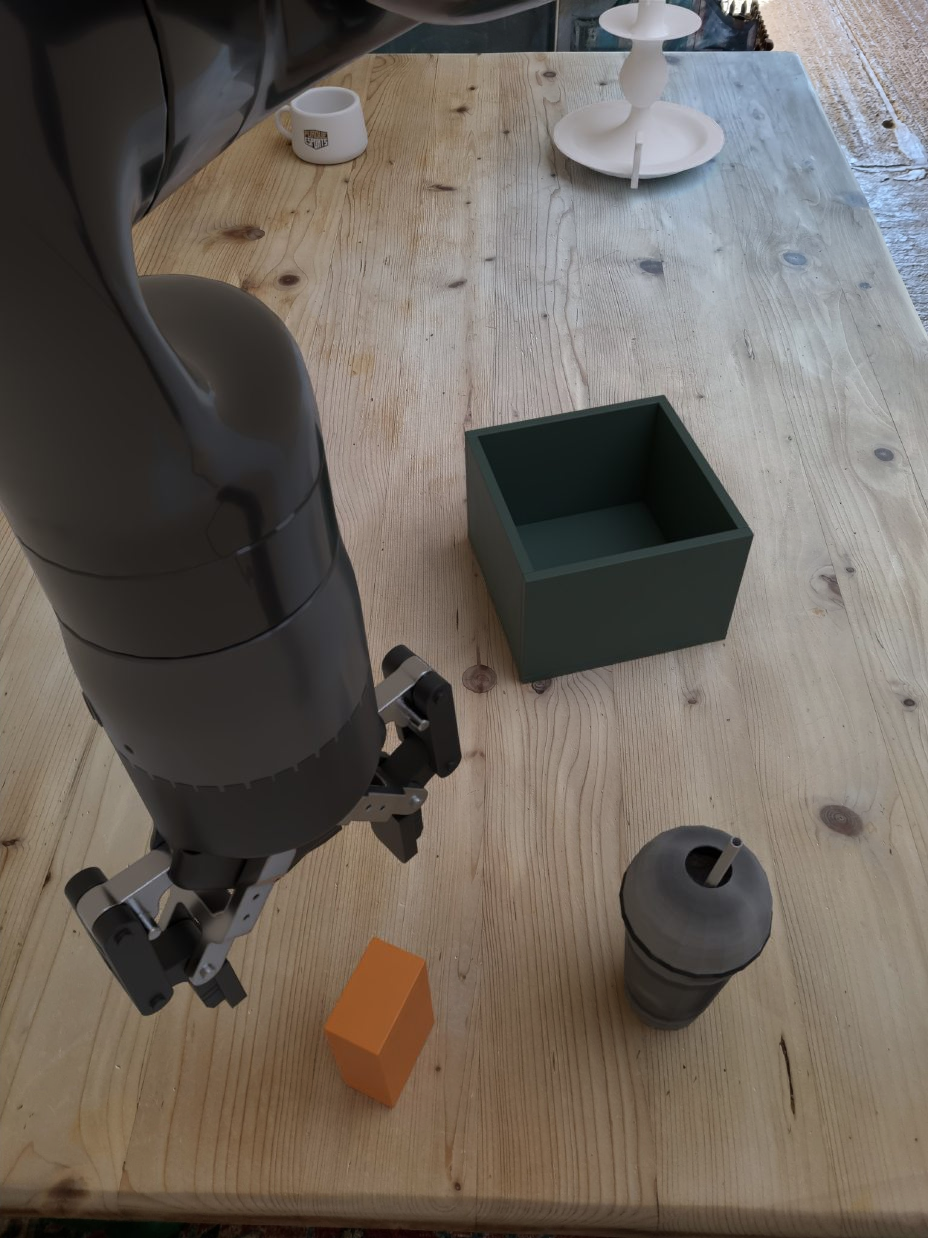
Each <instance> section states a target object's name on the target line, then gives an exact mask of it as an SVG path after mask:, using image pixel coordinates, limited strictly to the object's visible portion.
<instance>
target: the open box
mask: <svg viewBox="0 0 928 1238" xmlns="http://www.w3.org/2000/svg"><path fill="white" fill-rule="evenodd" d="M464 459H465V460H464V464H465V492H466V493H465V494H466V526H467V530H466V531H467V539H468V541H469V544H470V547H471V549H472V552H473V554H474V558H475V560H476V563H477V566H478V568H479V571H480V573H481V577H482V579H483V582H484V584H485V587H486V590H487V592H488V595H489V598H490V600H491V603H492V606H493V609H494V611H495V614H496V617H497V620H498V622H499V625H500V627H501V630H502V633H503V635H504V638H505V641H506V643H507V646H508V650H509V652H510V654H511V657H512V660H513V662H514V665H515V668H516V671H517V674H518V676H519V678H520V681H521V684H522V685H525V684H531V683H535V682H539V681H543V680H548V679H553V678H557V677H562V676H565V675H570V674H575V673H579V672H583V671H588V670H592V669H593V670H594V669H598V668H601V667H605V666H611V665H616V664H620V663H624V662H629V661H631V660H637V659H641V658H646V657H650V656H656V655H660V654H664V653H668V652H673V651H677V650H682V649H686V648H691V647H694V646H699V645H704V644H709V643H713V642H718V641H722V640H725V639H726V638H727V634H728V631H729V627H730V624H731V619H732V616H733V612H734V609H735V605H736V601H737V598H738V596H739V595H738V594H739V591H740V587H741V584H742V583H741V582H742V581H743V577H744V574H745V569H746V566H747V562H748V559H749V555H750V551H751V548H752V545H753V541H754V536H755V533H754V531H753V530H752V529H751V527H750V526H749V524H748V522H747V521H746V519H745V517H744V516H743V515H742V513H741V511H740V509H739V508H738V506H737V505H736V504H735V502H734V501H733V498H732V497H731V496H730V494H729V493H728V491H727V489H726V488H725V487H724V484H723V483H722V482H721V479H719V477H718V476H717V474H716V472H715V471H714V469H713V468H712V466H711V464H710V463H709V461H708V460H707V459H706V457H705V456H704V454H703V452H702V450H700V447H699V446H698V445H697V443H696V441H695V440H694V438H693V437H692V435H691V433H690V432H689V430H688V429H687V427H686V426H685V424H684V422H683V421H682V420H681V418H680V417H679V415H678V413H677V412H676V411H675V409H674V407H673V405H672V404H671V402H670V401H669V400H668V398H667V397H666V395H665V394H660V395H654V396H648V397H644V398H643V397H642V398H638V399H632V400H627V401H621V402H615V403H610V404H605V405H600V406H599V405H598V406H593V407H590V408H584V409H578V410H574V411H566V412H562V413H556V414H551V415H546V416H545V415H544V416H541V417H535V418H530V419H524V420H518V421H512V422H507V423H502V424H496V425H491V426H485V427H480V428H475V429H470V430H465V431H464Z"/></svg>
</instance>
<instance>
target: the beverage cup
mask: <svg viewBox="0 0 928 1238" xmlns="http://www.w3.org/2000/svg"><path fill="white" fill-rule="evenodd" d="M772 894H773V893H772V890H771V886H770V881H769V877H768V875H767V873H766V870H765V869H764V866H762V864H761V862H760V860H759V859H758V857H757V855H756V854H755V853H754V852H753V851H751V849H750V848H749V847H748V846H746V844H744V843H743V839H742V838H741V837H740V836H737V835H734V836H733V835H731V834H730V833H728V832H726V831H724V830H722V829H720V828H715V827H711V826H707V825H703V824H699V825H698V824H697V825H680V826H675V827H674V828H670V829H667V830H664V831H661V832H660V833H658V834H657V835H656V836H655V837H653V838H652V839H651V840H649V841H648V842H647V843H645V844H644V845H643V846H642V847H641V848H640V849H639V851H637V854H636V855H634V856H633V859H632V860H631V861H630V863H629V864H628V866H627V868H626V870H624V872H623V875H622V880H621V883H620V888H619V893H618V897H619V898H618V899H619V907H620V914H621V919H622V921H623V925H624V929H625V930H624V950H623V983H624V985H623V986H624V994H625V999H626V1002H627V1004H628V1005H629V1008H630V1010H631V1011H632V1012H633V1013H634V1014H635V1016H636V1017H637V1018H638V1020H639V1021H641V1022H643V1023H644V1024H646V1025H647V1026H649V1027H650V1028H653V1029H656V1030H660V1031H663V1032H671V1031H673V1032H675V1031H679V1030H682V1029H684V1028H687V1027H689V1026H690V1025H691V1024H692V1023H694V1021H696V1020H697V1019H698V1017H700V1016H701V1015H702V1014H703V1013H704V1012H705V1011H706V1010H707V1008H708V1007H709V1006H710V1005H711V1004H712V1002H713V1001H714V1000H715V998H716V997H717V996H718V995H719V993H720V992H721V991H722V990H723V989H724V987H725V986H726V985H727V983H728V982H729V981H731V979H732V977H734V976H735V975H736V974H738V973H739V972H742V971H745V969H746V968H747V967H749V966H750V965H751V964H752V963H753V962H754V961H755V960H757V959H758V958H759V957H760V956H761V954H763V951H764V949H765V948H766V945H767V943H768V942H769V939H770V937H771V932H772V926H773V925H772V923H773V914H774V912H773V906H774V901H773V900H774V898H773V895H772Z"/></svg>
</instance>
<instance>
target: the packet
mask: <svg viewBox="0 0 928 1238" xmlns="http://www.w3.org/2000/svg"><path fill="white" fill-rule="evenodd" d="M359 959H360V960H359V961H358V963H357V965H356V967H355V969H354V971H352V974H351V976H350V978H349V980H348V981H347V983H346V984H345V987H344V989H343V991H342V992H341V994H340V996H339V998H338V1000H337V1002H336V1003H335V1005H334V1007H333V1009H332V1011H331V1013H330V1014H329V1016H328V1018H327V1019H326V1021H325V1024H324V1025H323V1026H322V1027H323V1028H322V1029H323V1032H324V1034H325V1037H326V1039H327V1042H328V1044H329V1046H330V1049H331V1052H332V1054H333V1057H334V1060H335V1062H336V1065H337V1067H338V1069H339V1072H340V1075H341V1076H342V1079H343V1081H344V1084H345V1085H347V1086H349V1087H350V1088H352V1089H354V1090H356V1091H358V1092H360V1093H362V1094H364V1095H366V1096H368V1097H370V1098H371V1099H373V1100H375V1101H378V1102H380V1103H381V1104H383V1105H385V1106H387V1107H389V1108H390V1109H394V1108H395V1106H396V1104H397V1102H398V1100H399V1098H400V1096H401V1094H402V1092H403V1089H404V1087H405V1085H406V1083H407V1081H408V1079H409V1077H410V1075H411V1073H412V1070H413V1069H414V1067H415V1064H416V1062H417V1060H418V1059H419V1056H420V1054H421V1052H422V1050H423V1048H424V1046H425V1044H426V1041H427V1039H428V1037H429V1036H430V1033H431V1031H432V1029H433V1027H434V1026H435V1015H434V1008H433V1001H432V995H431V994H432V993H431V987H430V980H429V974H428V972H429V971H428V965H427V960H425V959H424V958H422V957H420V956H418V955H416V954H413V953H411V952H409V951H407V950H405V949H402V948H400V947H398V946H397V945H395V944H392V943H390V942H387V941H385V940H383V939H381V938H379V937H376V936H373V937H372V938H371V940H370V941H369V943H368V945H367V947H366V948H365V950H364V952H363V954H362V956H361V958H359Z"/></svg>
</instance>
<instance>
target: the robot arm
mask: <svg viewBox="0 0 928 1238" xmlns="http://www.w3.org/2000/svg"><path fill="white" fill-rule="evenodd" d="M554 1H555V0H0V509H1V511H2V513H3V515H4V517H5V520H6V521H7V523H8V526H9V527H10V529H11V531H12V533H13V535H14V537H15V539H16V541H17V542H18V544H19V547H20V548H21V551H22V552H23V554H24V556H25V558H26V560H27V561H28V564H29V565H30V567H31V569H32V572H33V574H34V575H35V577H36V579H37V581H38V583H39V584H40V587H41V588H42V591H43V592H44V594H45V597H46V599H47V600H48V602H49V603H50V605H51V607H52V609H53V612H54V614H55V616H56V619H57V623H58V626H59V629H60V633H61V637H62V640H63V644H64V647H65V651H66V653H67V654H66V655H67V656H68V660H69V662H70V665H71V667H72V669H73V671H74V674H75V676H76V678H77V681H78V683H79V685H80V687H81V688H82V692H81V695H82V697H83V701H84V703H85V705H86V708H87V710H88V711H89V714H90V716H91V718H92V719H93V721H96V723H97V724H98V725H99V727H101V728H103V730H104V732H105V733H106V736H107V737H108V739H109V740H110V742H111V744H112V747H113V749H114V750H115V751H116V754H117V756H118V757H119V759H120V761H121V764H122V765H123V767H124V769H125V771H126V772H127V775H128V776H129V778H130V781H131V782H132V784H133V786H134V787H135V790H136V792H138V796H139V797H140V799H141V801H142V802H143V805H144V806H145V808H146V810H147V812H148V813H149V815H150V818H151V820H152V823H153V826H152V832H151V835H150V838H149V839H150V840H149V852H148V853H146V854H144V855H143V856H142V857H140V858H139V859H137V860H136V861H134V862H133V863H131V864H130V865H128V866H127V867H125V868H124V869H123V870H121V871H120V872H119V873H117V874H115V875H114V876H113V877H111V878H110V879H108V877H107V876H106V875H105V873H104V872H103V871H102V869H101V868H99V867H98V866H89V867H86V868H83V869H81V870H79V871H78V872H77V873H75V874H74V875H72V876H71V877H70V878H69V880H68V881H67V882H66V884H65V886H64V890H63V893H64V895H65V897H66V899H67V901H68V902H69V904H70V906H71V907H72V909H73V911H74V912H75V914H76V916H77V918H78V919H79V921H80V923H81V924H82V926H83V928H84V930H85V931H86V933H87V935H88V936H89V938H90V940H91V942H92V943H93V945H94V947H95V949H96V951H97V952H98V954H99V955H100V957H101V959H102V961H103V963H104V964H105V965H106V967H107V968H108V969H109V971H110V972H111V973H112V975H113V977H114V978H115V979H116V980H117V982H118V984H119V985H120V986H121V988H122V989H123V991H124V992H125V993H126V995H127V996H128V997H129V999H130V1000H131V1002H132V1003H133V1005H134V1006H135V1008H136V1009H137V1010H138V1012H139V1014H140V1015H142V1017H148V1016H149V1017H150V1016H151V1015H154V1014H156V1013H158V1012H159V1011H161V1010H162V1009H163V1008H165V1007H166V1006H167V1005H168V1004H169V1002H170V1001H171V1000H172V998H173V996H174V994H175V989H174V987H176V986H177V985H179V984H182V983H188V985H189V987H190V988H191V989H192V990H193V992H194V993H195V994H196V995H197V997H198V998H199V999H200V1000H201V1002H202V1003H203V1005H204V1006H205V1007H206V1008H208V1009H209V1008H210V1009H215V1008H216V1007H218V1006H219V1005H220V1004H222V1002H224V1001H225V1002H226V1003H227V1004H228V1005H229V1007H230V1008H231V1009H235V1007H237V1006H238V1005H239V1004H240V1003H241V1002H242V1001H244V1000H245V999H246V998H247V997H248V994H247V992H246V990H245V989H244V987H243V984H242V982H241V981H240V979H239V977H238V976H237V973H236V972H235V969H234V968H233V966H232V964H231V962H230V961H229V959H228V958H227V956H228V955H229V952H230V950H231V947H233V944H234V941H235V940H236V939H237V938H240V937H243V936H245V935H248V934H251V933H252V932H253V930H254V928H255V925H256V923H257V922H258V919H259V917H260V915H261V913H262V911H263V909H264V907H265V904H266V902H267V900H268V898H269V896H270V895H271V892H272V890H273V888H274V886H275V884H276V883H277V882H279V880H281V879H282V878H283V877H285V876H286V875H287V874H288V873H289V872H291V871H292V870H293V868H294V867H295V866H297V865H298V864H299V863H300V861H302V860H303V859H304V858H305V857H306V856H307V855H308V854H309V853H311V852H313V851H315V850H316V849H318V848H319V847H321V846H323V845H324V844H327V842H328V841H330V840H331V839H332V838H333V837H335V836H336V835H337V834H339V833H340V832H342V830H343V826H345V827H347V826H349V825H350V824H351V822H366V823H367V822H368V823H369V822H370V828H371V830H372V832H373V834H374V836H375V837H376V838H377V839H378V840H379V842H380V843H382V844H383V846H384V847H385V848H386V849H388V850H389V851H390V853H392V855H393V856H394V857H395V858H396V859H398V861H399V862H400V863H402V864H404V865H405V864H407V863H408V862H409V861H411V859H412V858H414V857H415V856H417V855H418V853H419V849H418V848H419V847H418V839H420V838H421V836H422V834H423V830H424V820H423V819H424V818H423V812H422V807H423V805H424V804H425V802H426V801H427V799H428V796H429V791H428V789H426V788H425V787H426V786H427V784H428V783H429V781H431V779H433V777H434V776H435V775H436V776H438V777H439V778H440V779H444V778H447V777H449V776H451V775H452V774H453V773H454V772H455V771H456V770H457V768H458V767H459V766H460V764H461V761H462V758H463V755H462V750H461V749H462V747H461V742H460V741H461V740H460V734H459V727H458V720H457V713H456V705H455V700H454V693H453V692H454V691H453V686H452V684H451V683H450V682H449V681H447V680H446V678H444V677H443V676H442V675H440V674H439V673H438V672H437V671H436V670H435V669H434V668H433V667H432V666H430V664H428V663H427V662H426V661H425V660H423V659H422V658H421V657H420V656H418V655H417V654H416V653H415V652H413V651H412V649H410V648H409V647H407V646H406V645H405V644H398V645H395V646H393V647H392V648H391V649H389V651H388V652H387V653H386V654H385V655H384V657H383V659H382V661H381V666H380V667H381V671H382V676H383V680H381V682H379V683H377V685H376V686H375V682H374V675H373V669H372V663H371V655H370V650H369V643H368V638H367V630H366V625H365V624H366V623H365V618H364V612H363V607H362V606H363V605H362V599H361V595H360V591H359V586H358V582H357V578H356V577H357V576H356V573H355V570H354V567H353V564H352V561H351V559H350V555H349V553H348V550H347V548H346V546H345V543H344V540H343V537H342V534H341V530H340V527H339V522H338V518H337V513H336V507H335V501H334V496H333V495H334V494H333V489H332V483H331V478H330V472H329V465H328V459H327V453H326V449H325V442H324V435H323V430H322V423H321V416H320V411H319V407H318V406H319V405H318V402H317V398H316V394H315V391H314V387H313V384H312V380H311V377H310V375H309V371H308V368H307V365H306V362H305V358H304V356H303V353H302V351H301V348H300V346H299V345H298V343H297V340H296V339H295V338H294V336H293V334H292V333H291V332H290V329H288V327H287V325H286V324H285V322H284V321H283V320H282V319H281V317H280V316H279V315H278V314H277V313H276V312H274V311H273V309H272V308H270V307H269V306H268V305H267V304H266V303H264V301H262V300H261V299H259V298H258V297H257V296H255V295H254V294H252V293H250V292H248V291H246V290H244V289H242V288H241V287H238V286H236V285H233V284H231V283H228V282H225V281H222V280H218V279H213V278H208V277H204V276H198V275H192V274H185V273H184V274H183V273H182V274H181V273H160V274H143V275H139V274H138V270H137V265H136V259H135V251H134V242H133V228H134V227H136V225H137V224H139V223H140V222H141V221H142V220H143V219H145V218H146V217H147V216H148V215H149V214H151V213H152V212H154V211H155V210H156V209H157V208H158V207H159V206H160V205H161V204H163V203H164V202H165V201H166V200H167V199H168V198H170V197H171V196H173V194H175V193H176V192H177V191H178V190H179V189H181V188H182V187H183V186H184V185H185V184H187V183H188V182H189V181H190V180H191V179H192V178H194V177H195V176H196V175H198V173H200V172H201V171H202V170H204V169H205V168H206V167H207V166H208V165H209V164H210V163H212V162H213V161H214V160H216V159H217V158H218V157H219V156H220V155H221V154H223V152H224V151H226V150H227V149H228V148H229V147H230V146H231V145H233V144H234V143H235V142H236V141H237V140H238V139H240V138H242V136H244V135H245V134H247V133H248V132H249V131H250V130H252V129H253V128H255V127H256V126H257V125H259V124H261V123H262V122H263V121H265V120H266V119H267V118H269V117H270V116H272V115H273V114H275V112H276V111H277V110H279V109H280V108H282V107H283V106H285V105H288V104H290V102H291V101H292V100H294V99H295V98H297V97H298V96H300V95H301V94H303V93H304V92H306V91H307V90H309V89H312V88H314V87H315V86H316V85H318V84H320V83H321V82H323V81H325V80H326V79H327V78H329V77H331V76H332V75H334V74H336V73H337V72H340V70H342V69H343V68H346V67H347V66H349V65H351V64H352V63H354V62H356V61H358V60H359V59H361V58H363V57H365V56H367V55H368V54H370V53H372V52H373V51H375V50H377V49H379V48H381V47H382V46H385V45H386V44H388V43H390V42H391V41H393V40H396V39H397V38H398V37H400V36H402V35H403V34H406V33H407V32H409V31H411V30H412V29H414V28H416V27H418V26H419V25H422V24H423V23H425V24H431V25H439V26H440V25H441V26H442V25H443V26H466V25H474V24H483V23H486V22H492V21H496V20H499V19H502V18H506V17H509V16H512V15H515V14H519V13H522V12H526V11H529V10H532V9H535V8H538V7H541V6H543V5H546V4H548V3H552V2H554ZM389 723H394V727H395V731H396V735H397V738H398V741H400V742H401V743H400V744H399V745H398V746H397V747H396V748H395V750H393V751H392V753H390V754H389V753H388V752H387V751H384V750H383V748H384V746H385V744H386V740H387V736H388V735H387V732H388V731H387V730H388V729H387V724H389ZM168 890H169V895H168V898H167V899H166V903H165V905H164V907H163V910H162V912H161V914H160V917H159V919H158V922H157V921H156V920H155V919H156V918H157V916H158V915H159V913H160V902H161V899H162V898H163V896H164V895H165V893H166V892H167V891H168ZM229 890H232V893H231V892H230V891H229Z"/></svg>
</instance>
